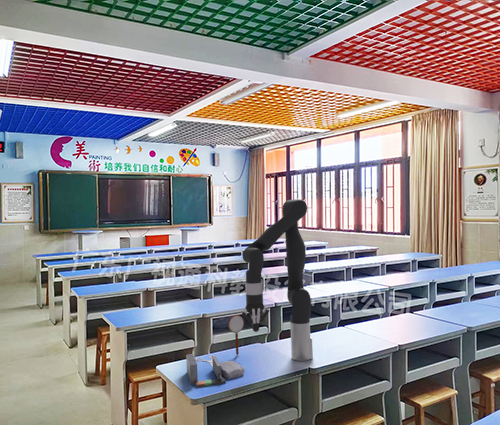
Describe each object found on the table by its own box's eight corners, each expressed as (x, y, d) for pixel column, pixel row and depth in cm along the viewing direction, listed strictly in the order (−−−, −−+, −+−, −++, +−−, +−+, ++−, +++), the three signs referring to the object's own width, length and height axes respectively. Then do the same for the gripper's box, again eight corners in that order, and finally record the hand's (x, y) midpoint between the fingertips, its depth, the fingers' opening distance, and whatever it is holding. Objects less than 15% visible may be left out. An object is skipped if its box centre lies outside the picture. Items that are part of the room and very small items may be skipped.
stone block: (235, 370, 188) (215, 371, 184) (236, 360, 188) (216, 360, 184) (246, 380, 178) (226, 381, 173) (248, 369, 178) (227, 369, 173)
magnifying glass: (230, 358, 200) (228, 316, 200) (228, 357, 201) (227, 316, 201) (246, 354, 203) (244, 314, 204) (244, 353, 205) (242, 313, 205)
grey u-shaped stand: (218, 368, 187) (217, 350, 187) (225, 383, 170) (224, 363, 170) (187, 372, 183) (186, 354, 183) (191, 388, 166) (190, 368, 166)
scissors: (212, 353, 206) (229, 365, 188) (212, 355, 206) (229, 367, 188) (192, 358, 201) (208, 370, 183) (192, 359, 201) (208, 372, 183)
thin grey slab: (216, 367, 186) (215, 355, 186) (223, 383, 169) (223, 369, 169) (212, 368, 185) (212, 356, 186) (220, 383, 168) (219, 370, 168)
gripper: (266, 289, 190) (267, 327, 189) (238, 292, 186) (239, 330, 186) (271, 292, 182) (272, 331, 182) (241, 295, 179) (243, 335, 179)
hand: (255, 331), depth 184 cm, fingers closed
